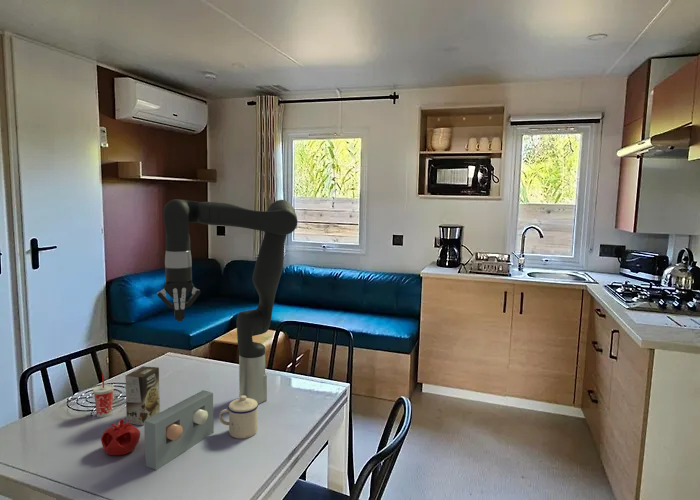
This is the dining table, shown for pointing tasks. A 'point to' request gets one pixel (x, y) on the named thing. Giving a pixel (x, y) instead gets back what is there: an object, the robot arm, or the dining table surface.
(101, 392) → the beverage cup
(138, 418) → the coffee box
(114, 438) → the tomato
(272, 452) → the dining table surface
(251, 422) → the teacup with lid
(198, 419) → the cream button
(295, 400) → the dining table surface
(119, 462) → the dining table surface
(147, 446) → the button panel
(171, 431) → the terracotta button
